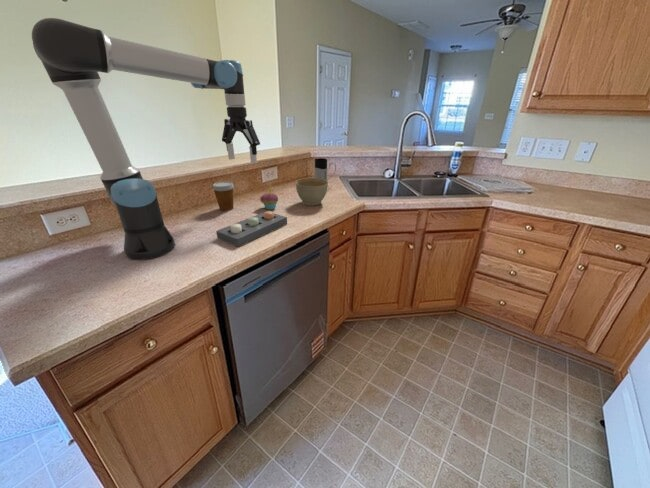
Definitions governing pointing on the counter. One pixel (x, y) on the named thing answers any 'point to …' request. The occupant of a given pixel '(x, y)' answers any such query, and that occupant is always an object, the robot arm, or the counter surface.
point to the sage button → (253, 221)
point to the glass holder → (322, 168)
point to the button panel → (251, 230)
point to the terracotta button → (268, 215)
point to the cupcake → (269, 200)
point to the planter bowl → (311, 190)
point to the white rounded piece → (236, 228)
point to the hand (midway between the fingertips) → (242, 160)
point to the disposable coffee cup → (224, 195)
